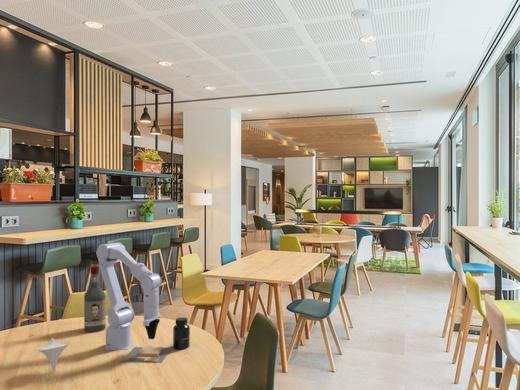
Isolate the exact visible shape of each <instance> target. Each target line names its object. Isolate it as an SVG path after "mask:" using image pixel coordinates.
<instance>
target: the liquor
mask: <svg viewBox="0 0 520 390" xmlns="http://www.w3.org/2000/svg"><path fill="white" fill-rule="evenodd" d="M99 273H100V267H99V265H93V266H90V275H91V281H90V283H91V284H90V287H89V288H88V289H87V290H86V292H85V293H84V297H83V300H84V304H83V305H84V306H83V307H84V308H83V310H84V311H83V313H84V315H83V316H84V321H83V322H84V331H85V333H96V332H97V333H98V332H102V331H104V330H106V329H107V327H106V293H105V291H104V290H103V289H102V288H101V287H100V284H99Z"/></svg>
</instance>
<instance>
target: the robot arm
mask: <svg viewBox="0 0 520 390" xmlns="http://www.w3.org/2000/svg"><path fill="white" fill-rule="evenodd" d="M95 253H96V257H97V261H98V266H99V271H100V273H101V277H102V280H103V282H104V286H105V289H106V294H107V298H108V300H109V304H110V307H109V308H108V309H107V311H106V313H107V321H108V322H107V323H108V324H109V325H108V326H107V327H106V329H105V330H106V331H105V348H104V349H105V350H107V351H108V350H111V351H112V350H113V351H119V350H120V351H122V350H123V351H127V350H128V349H130V348H131V347H132V346H133V345H134V344H135V343H134V341H133V342H131V325H132V322H133V321H134V319H135V311H134V310H133V308H132V307H131V304H130V303H129V302H128V301H126V300H125V299H124V296H123V293H122V289H121V286H120V282H119V279H118V277H117V272H116V270H115V267H114V266H115V263H117V261H119V262H121V263H123V264H124V265H125V266H126V267H128V268H129V269H130V274H131V275H132V276H133V277H134V278H135V279H137V281H139V282H140V287H141V289H142V293H143V298H144V300H143V306H144V307H143V308H144V311H143V313H144V314H143V315H144V316H143V321H142V323H143V324H142V326H143V327H144V328H145V330H146V333H147V339H148V340H155V338H156V335H157V329H158V326H159V323H160V321H161V320H160V319H162V317H163V315H162V314H160V309H159V308H160V304H159V303H160V295H159V294H160V287H161V286H162V283H163V282H162V281H163V280H162V277H161V276H160V275H159V273H154V272H153V271H151V270H150V269H149V268H148V267H147V266H146V265H145V263H142V262H137V261H136V260H135V259H134V258H133V257H132V256H131V255H130V253H128V251H127V250H126V246H125V245H123V243H122V242H120V241H117V242H112V243H102V244H99V245H98V247H97V249H96V252H95Z"/></svg>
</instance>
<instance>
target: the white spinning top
mask: <svg viewBox="0 0 520 390" xmlns="http://www.w3.org/2000/svg"><path fill="white" fill-rule="evenodd" d="M70 344H71V343H70V342H66V341H57V340H56V339H54V338H53V337H51V339H50V341H48V342H47V343H45V344H44V345H42V346H41V347H39V348H38V349H37V350H36V351H37V352H40V353H42V354H43V355H45V357H46V358H47V359H48V360H49V363H50V366H51V369H52V372H53V373H54V371H56V368H57V363H58V361H59V358H60V356H61V354H62V353H63V351H64V350H65V349H66V348H68V346H69V345H70Z"/></svg>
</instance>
